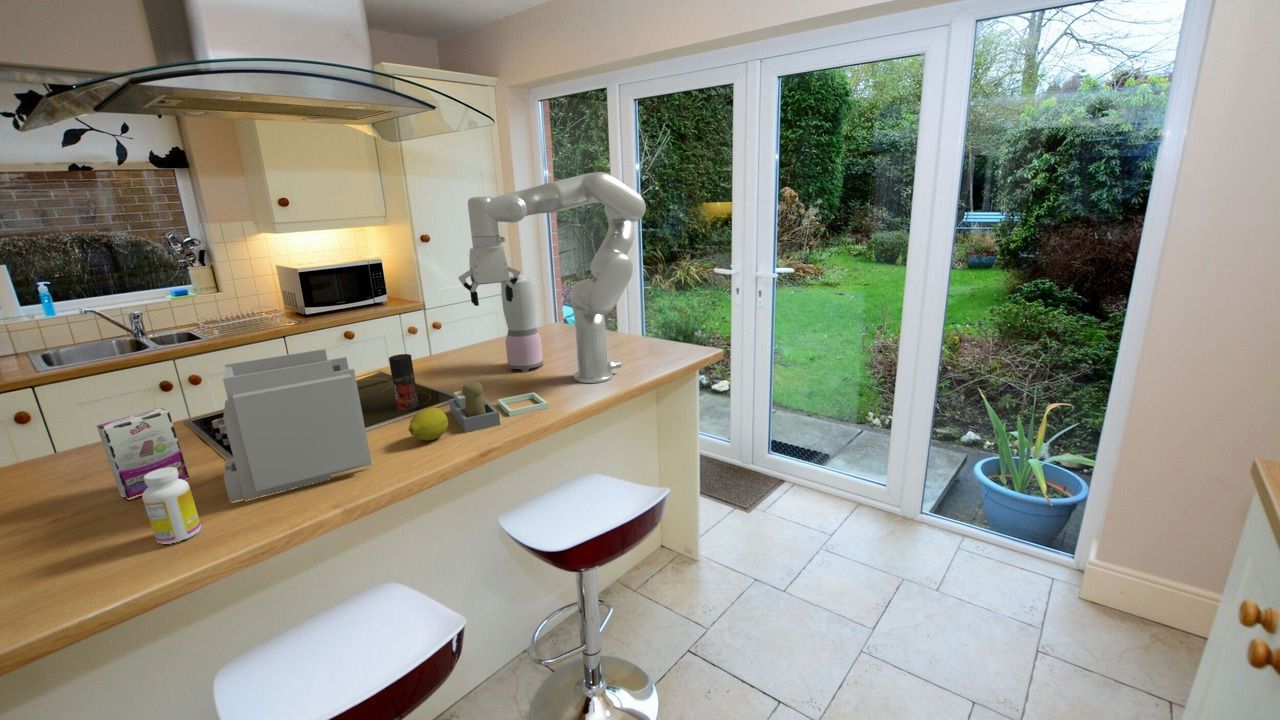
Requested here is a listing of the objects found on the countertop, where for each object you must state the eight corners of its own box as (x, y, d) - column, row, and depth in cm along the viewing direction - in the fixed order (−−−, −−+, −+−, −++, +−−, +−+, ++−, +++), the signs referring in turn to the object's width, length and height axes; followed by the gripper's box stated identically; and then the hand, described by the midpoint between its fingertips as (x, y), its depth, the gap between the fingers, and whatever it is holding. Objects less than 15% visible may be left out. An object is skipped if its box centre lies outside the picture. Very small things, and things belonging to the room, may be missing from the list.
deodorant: (392, 408, 167) (384, 359, 163) (407, 401, 172) (399, 353, 168) (408, 410, 165) (400, 360, 160) (423, 403, 170) (415, 354, 166)
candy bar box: (180, 474, 131) (161, 406, 126) (190, 479, 128) (170, 410, 124) (118, 496, 122) (94, 424, 117) (127, 502, 119) (103, 428, 115)
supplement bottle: (199, 521, 111) (181, 460, 107) (204, 535, 106) (186, 472, 102) (154, 536, 106) (135, 473, 103) (158, 551, 102) (137, 485, 98)
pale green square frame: (534, 396, 172) (534, 392, 171) (548, 407, 163) (547, 402, 162) (497, 404, 167) (497, 399, 166) (509, 416, 157) (509, 411, 157)
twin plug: (479, 407, 165) (476, 383, 163) (485, 414, 159) (482, 389, 157) (456, 412, 162) (453, 388, 160) (461, 419, 156) (458, 394, 154)
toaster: (232, 477, 128) (202, 365, 121) (362, 446, 142) (342, 343, 135) (230, 510, 114) (196, 386, 107) (374, 472, 128) (353, 359, 121)
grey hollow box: (450, 411, 163) (448, 399, 162) (482, 405, 167) (480, 393, 166) (465, 432, 148) (464, 419, 147) (500, 424, 152) (498, 412, 151)
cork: (492, 418, 156) (487, 380, 153) (483, 427, 150) (478, 387, 147) (470, 418, 157) (465, 380, 154) (461, 427, 151) (456, 387, 148)
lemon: (440, 428, 151) (436, 400, 149) (458, 435, 146) (454, 405, 144) (402, 443, 143) (397, 413, 141) (419, 450, 138) (414, 419, 136)
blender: (530, 374, 194) (520, 279, 185) (500, 370, 199) (490, 278, 190) (555, 361, 208) (547, 272, 199) (527, 358, 213) (518, 271, 204)
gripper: (512, 239, 168) (517, 297, 173) (451, 244, 160) (459, 305, 165) (520, 241, 162) (526, 301, 167) (457, 245, 154) (465, 309, 159)
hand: (493, 303), depth 166 cm, fingers open, 9 cm apart
